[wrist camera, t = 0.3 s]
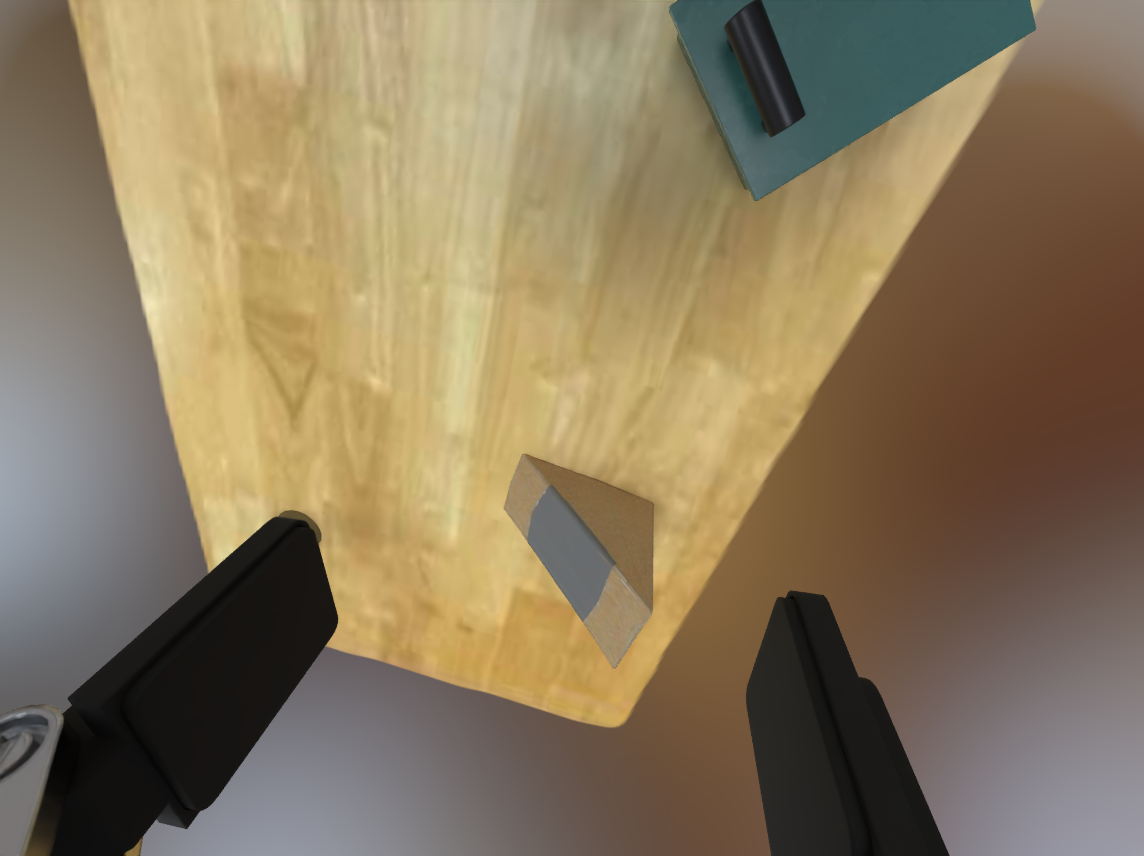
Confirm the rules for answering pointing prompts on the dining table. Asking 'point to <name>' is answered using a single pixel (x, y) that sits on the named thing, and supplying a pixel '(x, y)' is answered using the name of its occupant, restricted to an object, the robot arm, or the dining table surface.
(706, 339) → the dining table surface
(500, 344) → the dining table surface
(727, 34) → the lid
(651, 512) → the sandwich container
